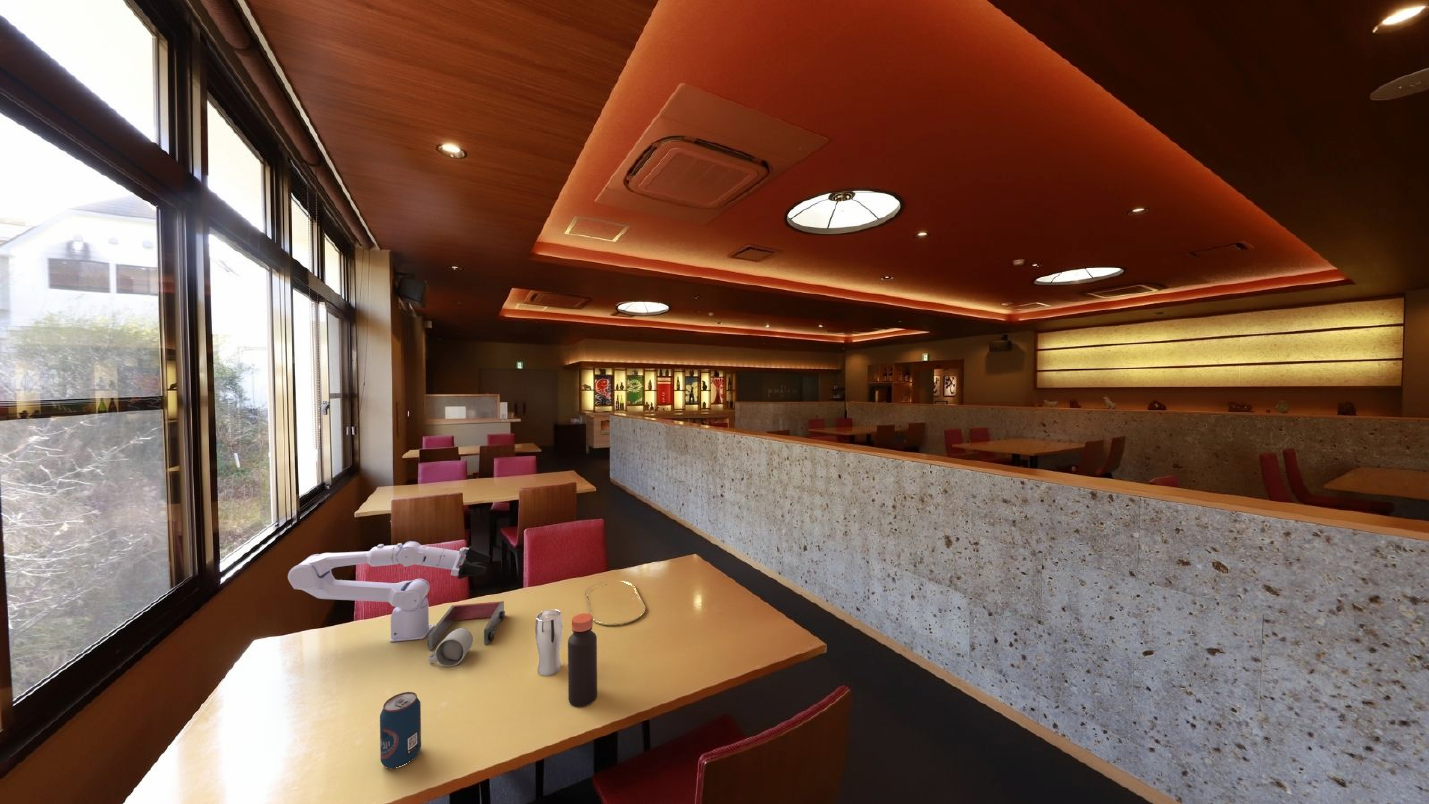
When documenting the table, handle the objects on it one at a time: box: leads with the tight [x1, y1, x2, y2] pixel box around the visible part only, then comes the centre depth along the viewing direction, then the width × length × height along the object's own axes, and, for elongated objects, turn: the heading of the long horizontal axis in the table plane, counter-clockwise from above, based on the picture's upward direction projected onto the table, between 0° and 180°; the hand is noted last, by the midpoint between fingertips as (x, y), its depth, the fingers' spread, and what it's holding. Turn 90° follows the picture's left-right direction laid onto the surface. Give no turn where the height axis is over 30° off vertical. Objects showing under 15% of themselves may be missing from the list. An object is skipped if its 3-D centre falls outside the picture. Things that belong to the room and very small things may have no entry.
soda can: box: [379, 691, 422, 769], centre depth 95 cm, size 7×7×12 cm
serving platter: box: [583, 579, 646, 627], centre depth 164 cm, size 19×35×2 cm, turn 21°
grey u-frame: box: [426, 600, 506, 651], centre depth 145 cm, size 18×18×4 cm
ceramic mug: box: [427, 627, 474, 668], centre depth 130 cm, size 11×8×8 cm
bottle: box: [567, 612, 598, 708], centre depth 113 cm, size 7×7×20 cm
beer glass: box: [534, 608, 564, 677], centre depth 125 cm, size 7×7×15 cm
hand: (487, 565), depth 150 cm, fingers open, 7 cm apart
